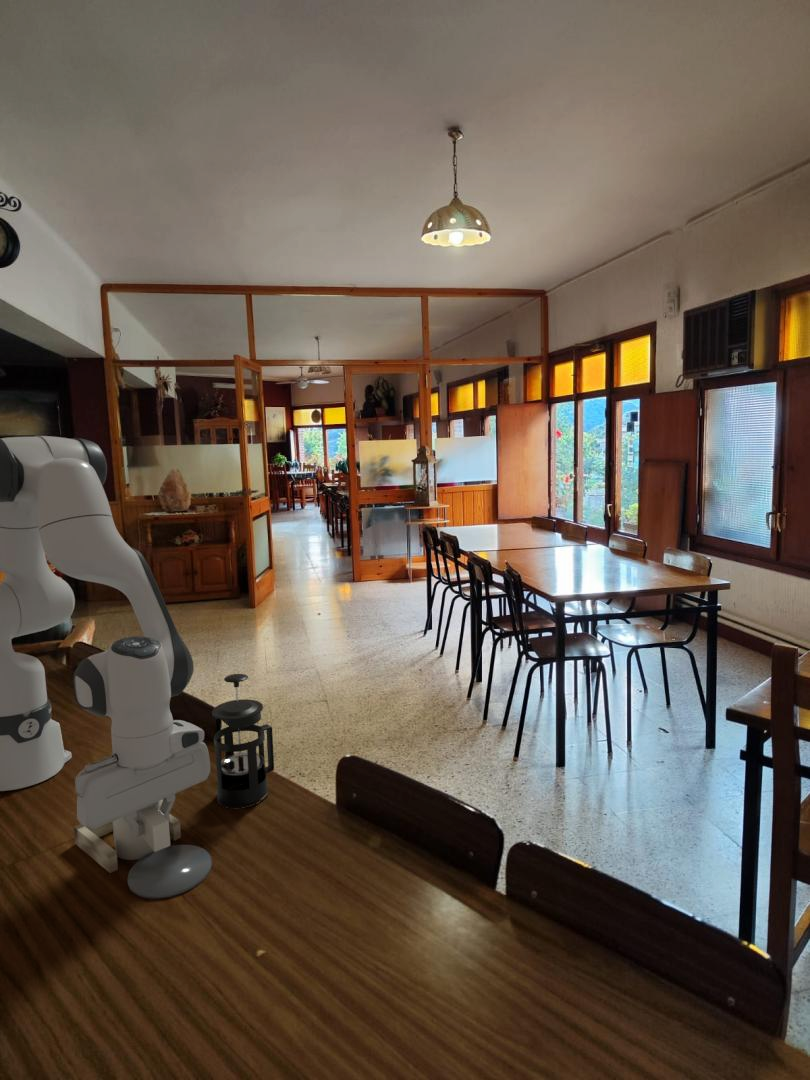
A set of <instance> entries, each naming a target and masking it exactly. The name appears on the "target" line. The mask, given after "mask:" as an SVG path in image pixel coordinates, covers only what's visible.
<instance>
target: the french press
mask: <svg viewBox="0 0 810 1080" xmlns="http://www.w3.org/2000/svg"><path fill="white" fill-rule="evenodd" d="M248 678H249V676H248V675H247V674H245V673H234V674H232V673H231V674H229V675H227V676H225V677H224V678H223V681H224V682H226V683H233V687H234V688H235V698H236V699H235V700H229V701H225V702H222V703H219V704H217V705H216V706H215V707H214V708H213V709H212V716H213V717H214V718H215V719H216V720H221V721H222V722H223V723H224V724H225V725H226V726H227V727H224V728H221V729H219V730H218V731H216V733H215V734H214V736H213V743H214V749H215V762H216V763H215V765H216V791H217V792H216V793H217V794H216V799H217V800H216V802H217V801H218V802H219V804H221V805H222V806H224V807H223V808H225V807H228V808H227V809H229V808H242V807H247V806H250V805H253V804H256V803H257V802H259V801H261V800H262V799H264V798H265V797H266V795H267V794H268V795H269V793H268V791H269V787H268V777H267V776H268V775H267V774H268V773H271V772H273V771H274V770H275V761H274V760H275V758H274V757H275V756H274V741H273V740H274V738H273V726H271V725H269V724H262V725H258V723H259V722H260V721H261V719H262V711H263V709H264V705H263V703H262V702H261V701H258V700H255V699H248V698H247V699H246V698H244V699H239V687H240V682H244V681H246V680H247V679H248ZM265 731H266V732H265ZM236 732H238V735H237V736H238V743H237V744H236V743H235V744H234V737H233V736H234V734H233V733H236ZM241 732H255V733H257V738H256V739H253V740H252V741H248V742H243V743H242V742H241V741H242V740H241V739H242V738H241ZM265 733H266V735H265ZM222 737H223V740H224V741H223V742H220V741H218V740H219V739H220V738H222ZM265 737H266V748H267V751H266V752H267V766H266V761H265V760H266V759H265ZM257 747H258V752H257ZM245 751H246V752H245ZM222 752H224V758H222ZM240 784H249V785H248V786H249V788H246V789H239V790H231V789H233V788H235V786H236V787H238V786H237V785H240ZM240 786H241V785H240ZM232 787H233V788H232ZM230 788H231V789H230ZM228 789H229V790H228ZM269 792H270V791H269ZM266 798H267V797H266ZM264 800H265V799H264ZM218 802H217V803H218ZM219 804H218V805H219ZM221 805H220V806H221ZM222 806H221V807H222ZM242 809H243V808H242Z"/></svg>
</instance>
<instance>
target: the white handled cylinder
mask: <svg viewBox="0 0 810 1080" xmlns="http://www.w3.org/2000/svg"><path fill="white" fill-rule="evenodd" d="M162 801H163V799H162V800H160V801H158V802H155V803H153V804H151V805H149V806H146V807H144V808H142V809H140V810H137V811H136V813H137V816H136V817H135V818H133V819H134V820H135V821H137V820H140V821H141V822H143V823H144V826H145V828H144V830H145V833H144V834H142V835H140V836H138V837H136V838H135V837H134V836H132V835H131V832H130V824H129V823H128V822H127V821H126V820H125V819H124V818H123V817H122V818H119V819H117V820H115V821H113V822H112V824H113V831H112V832H113V833H112V834H113V844H114V845H113V846H114V850H115V851H116V852H117V858H119V859H122V860H127V861H137V860H140V859H141V858H143V857H144V856H146V855H148V854H150V853H152V852H156V851H159V850H161V849H164V848H166V847H169V846H171V838H170V833H169V821H168V820H167V819H166V818H165V817H164V816H163V814H162V813H161V812H160V811H159V810H160V807H161V804H162Z"/></svg>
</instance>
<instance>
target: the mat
mask: <svg viewBox="0 0 810 1080" xmlns="http://www.w3.org/2000/svg"><path fill="white" fill-rule="evenodd" d="M212 863H213V862H212V856H211V855H210V853H209V852H208V851H207V850H206V849H204V848H202V847H200V846H198V845H193V844H178V845H177V844H176V845H170V846H168V847H166V848H164V849H161V850H159V851H156V852H152V853H150V854H148V855H146V856H144V857H143V858H141V859H138V861H136V862H135V863H134V864H133V865H132V867H131V868H130V870H129V871H128V875H127V886H128V889H129V890H130V892H132V893H133V894H134V895H136V896H137V897H141V898H145V899H152V900H153V899H154V900H155V899H166V898H167V899H168V898H171V897H175V896H178V895H181V894H184V893H186V892H188V891H190V890H193V889H194V888H195V887H197V886H198V885H199V884H201V883H202V882H203V881H204V880H206V878H207V877H208V876H209V874H210V872H211V869H212V866H213V865H212Z"/></svg>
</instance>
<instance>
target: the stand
mask: <svg viewBox="0 0 810 1080" xmlns="http://www.w3.org/2000/svg"><path fill="white" fill-rule="evenodd" d="M169 815H170V821H169V833H170V840H173V841H177V840H178V839H181V838H182V834H181V833H182V832H181V821H180V819H178V818H176V816H173V815H172V814H171V813H169ZM73 832H74V843H75V845H76V846H77V847H78V848H79V849H80V850H82V851H83V852H84V853H85V854H87V855H88V856H89V857H91V859H93V860H94V861H95V862H96V863H97V864H98V865H100V866H101V867H102V868H103V869H105V871H107V872H108V873H109V874H112V873H113V872H115V871H118V870H119V866H118V856H117V852H116V851H115V848H114V847H112V846H111V845H109V844H108V843H107V842H106V841H104V840H103V839H101V838H102V837H103V836H106V835H107V834H109V833H112V832H113V824H112V822H110V823H108V824H106V825H104V826H101V827H99V828H97V829H94V830H90V829H88V828H86V827H85V826H83V825H82V824H81V823H80V824H77V825H74V826H73Z"/></svg>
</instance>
